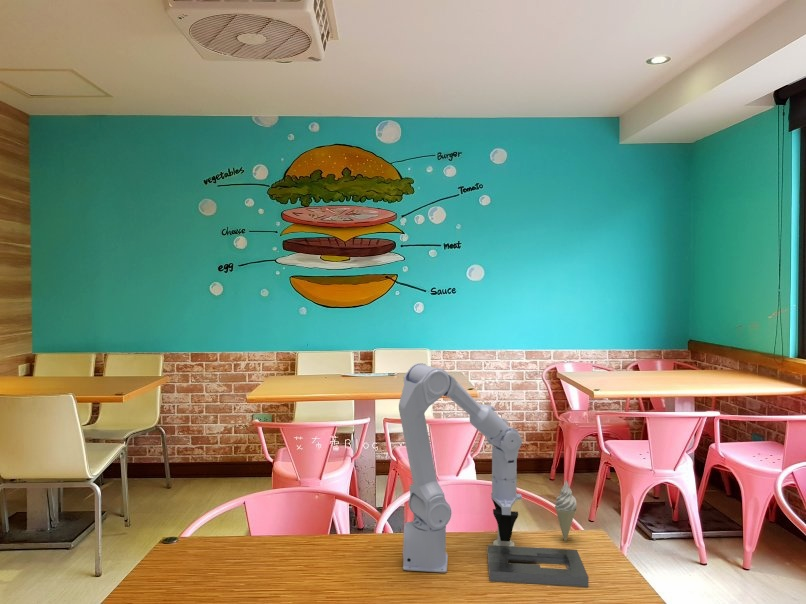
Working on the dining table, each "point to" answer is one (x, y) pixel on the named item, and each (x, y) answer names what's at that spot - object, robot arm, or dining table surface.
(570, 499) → the ice cream cone
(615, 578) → the dining table surface
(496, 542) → the peg
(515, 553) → the keyhole plate
